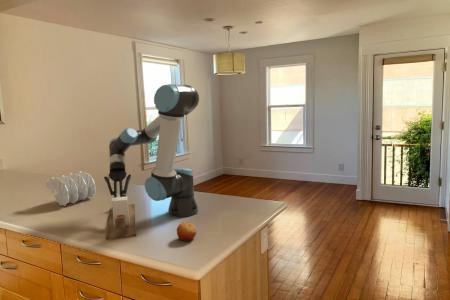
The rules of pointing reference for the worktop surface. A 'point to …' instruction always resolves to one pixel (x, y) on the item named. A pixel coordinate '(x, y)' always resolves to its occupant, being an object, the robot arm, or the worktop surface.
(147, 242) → the worktop surface
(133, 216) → the walnut board
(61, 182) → the spiral staircase
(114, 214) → the sleeve
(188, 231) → the fruit
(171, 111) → the robot arm
